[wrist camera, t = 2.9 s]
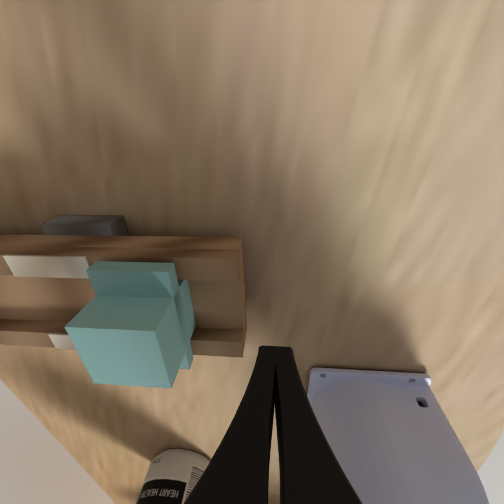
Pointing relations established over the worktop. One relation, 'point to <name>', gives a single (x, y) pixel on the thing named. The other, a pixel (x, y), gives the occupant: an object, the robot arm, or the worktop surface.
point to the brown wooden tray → (115, 250)
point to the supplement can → (172, 477)
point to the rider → (135, 324)
